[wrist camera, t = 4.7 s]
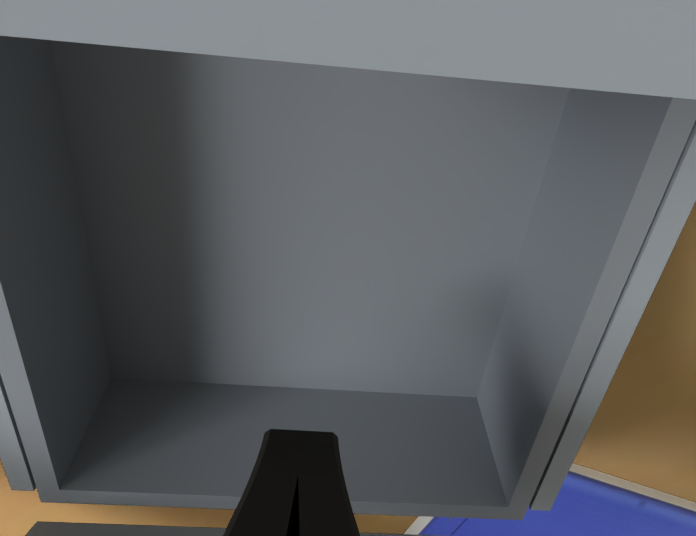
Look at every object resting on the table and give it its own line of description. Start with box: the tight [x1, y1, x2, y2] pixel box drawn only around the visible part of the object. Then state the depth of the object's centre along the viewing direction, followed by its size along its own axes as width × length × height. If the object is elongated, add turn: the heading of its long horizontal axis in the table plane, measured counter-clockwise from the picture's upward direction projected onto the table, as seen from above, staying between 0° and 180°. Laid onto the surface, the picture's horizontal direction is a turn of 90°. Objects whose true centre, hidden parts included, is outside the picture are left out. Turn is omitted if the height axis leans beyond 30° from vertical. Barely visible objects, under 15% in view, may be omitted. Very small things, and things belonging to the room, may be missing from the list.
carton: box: [0, 36, 696, 520], centre depth 14 cm, size 15×18×5 cm
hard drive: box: [404, 463, 696, 536], centre depth 26 cm, size 2×8×12 cm
